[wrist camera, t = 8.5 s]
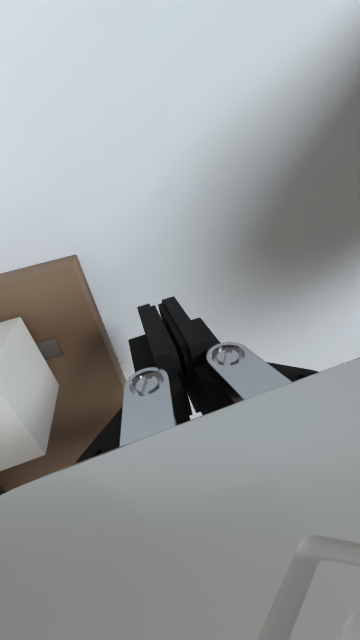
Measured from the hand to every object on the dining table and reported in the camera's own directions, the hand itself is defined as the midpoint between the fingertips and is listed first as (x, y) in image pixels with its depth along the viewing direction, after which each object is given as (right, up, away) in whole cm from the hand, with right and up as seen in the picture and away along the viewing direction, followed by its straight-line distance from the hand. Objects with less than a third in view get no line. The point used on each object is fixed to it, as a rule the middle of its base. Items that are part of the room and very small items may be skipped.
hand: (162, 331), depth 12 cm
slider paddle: (-7, -1, 0) cm, 7 cm away
